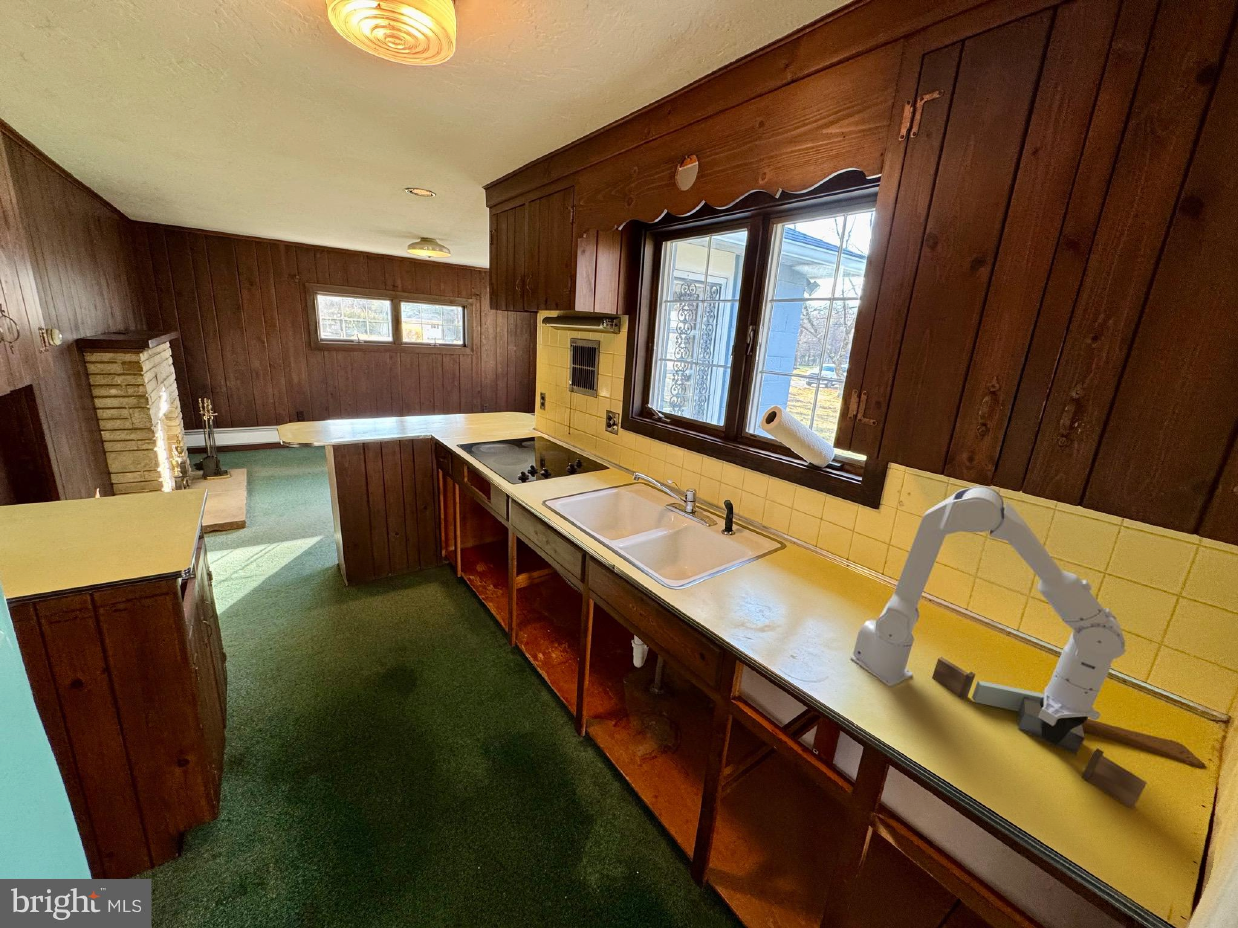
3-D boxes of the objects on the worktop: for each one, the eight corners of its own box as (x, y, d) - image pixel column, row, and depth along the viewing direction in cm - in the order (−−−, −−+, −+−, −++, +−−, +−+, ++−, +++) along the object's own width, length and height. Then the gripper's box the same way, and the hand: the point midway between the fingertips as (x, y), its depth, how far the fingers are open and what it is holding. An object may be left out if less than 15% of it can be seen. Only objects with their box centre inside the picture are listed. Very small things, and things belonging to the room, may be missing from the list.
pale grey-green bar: (974, 701, 91) (980, 684, 90) (969, 694, 93) (976, 677, 92) (1057, 719, 88) (1065, 701, 87) (1051, 711, 90) (1058, 694, 89)
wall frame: (931, 677, 98) (938, 656, 96) (935, 675, 98) (942, 654, 97) (1130, 809, 72) (1144, 784, 71) (1135, 805, 73) (1149, 779, 71)
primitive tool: (1181, 745, 85) (1189, 730, 84) (1209, 772, 80) (1218, 756, 79) (1058, 719, 89) (1065, 705, 88) (1077, 743, 84) (1084, 728, 83)
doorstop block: (1018, 729, 86) (1025, 712, 85) (1017, 712, 90) (1024, 696, 89) (1076, 754, 81) (1084, 737, 80) (1072, 736, 85) (1080, 719, 84)
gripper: (1090, 709, 72) (1060, 774, 76) (1126, 681, 78) (1096, 742, 82) (1035, 678, 78) (1010, 740, 82) (1073, 654, 84) (1047, 713, 88)
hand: (1050, 739), depth 82 cm, fingers closed, pressing on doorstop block
